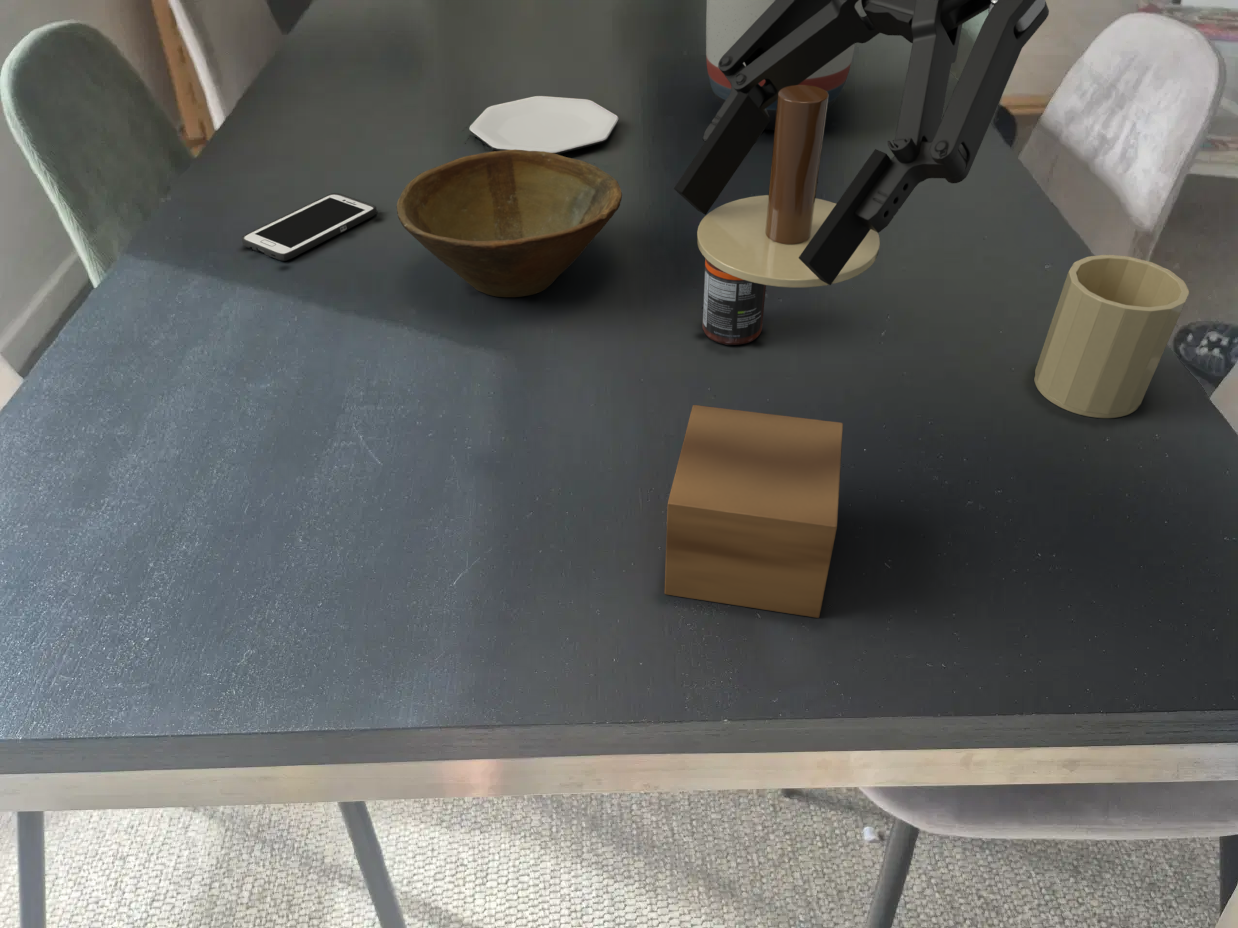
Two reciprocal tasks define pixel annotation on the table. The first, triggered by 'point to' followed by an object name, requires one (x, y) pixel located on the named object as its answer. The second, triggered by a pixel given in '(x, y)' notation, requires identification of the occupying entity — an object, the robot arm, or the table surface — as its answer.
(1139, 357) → the jar
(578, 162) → the bowl
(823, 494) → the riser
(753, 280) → the lid
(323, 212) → the cell phone
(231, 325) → the table surface
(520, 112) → the plate
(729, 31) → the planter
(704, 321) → the supplement bottle
